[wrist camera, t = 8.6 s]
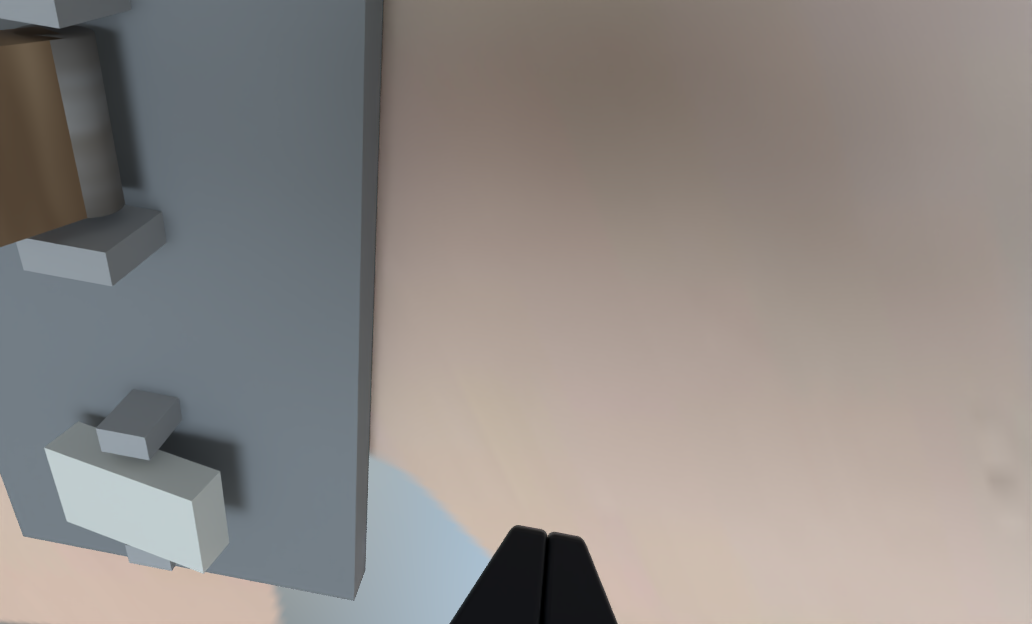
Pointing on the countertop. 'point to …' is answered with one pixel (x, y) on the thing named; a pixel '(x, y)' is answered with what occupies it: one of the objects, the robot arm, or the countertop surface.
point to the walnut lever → (53, 132)
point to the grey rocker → (141, 498)
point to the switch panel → (213, 279)
